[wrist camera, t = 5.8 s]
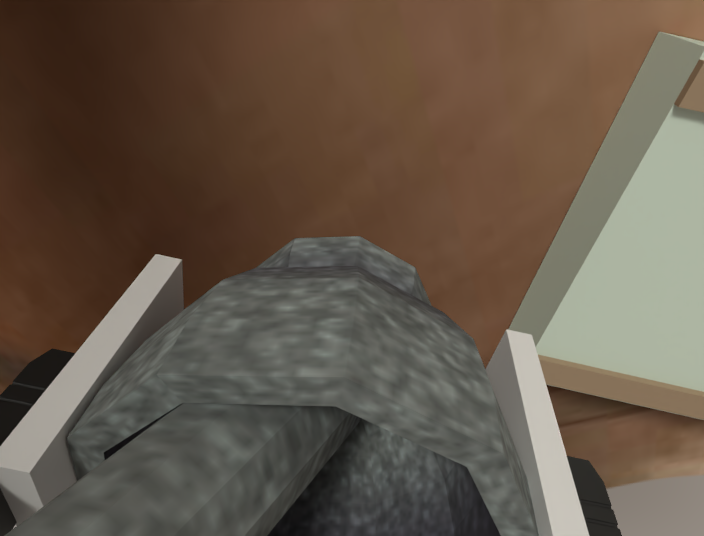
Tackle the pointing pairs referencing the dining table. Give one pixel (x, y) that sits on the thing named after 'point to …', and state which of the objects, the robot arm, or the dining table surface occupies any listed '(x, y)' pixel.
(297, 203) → the dining table surface
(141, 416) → the mortar and pestle
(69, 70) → the dining table surface
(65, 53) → the dining table surface
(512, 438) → the robot arm
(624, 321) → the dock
